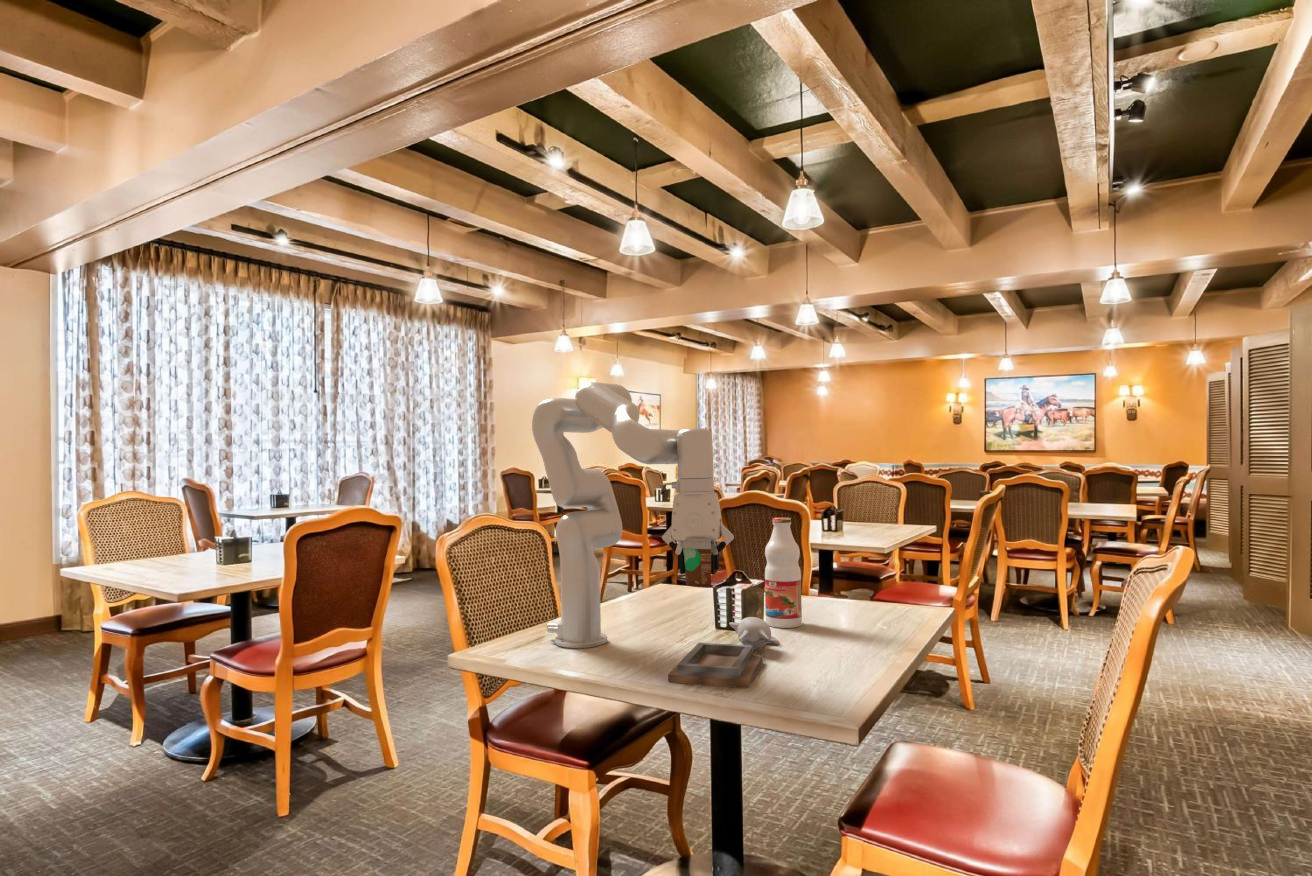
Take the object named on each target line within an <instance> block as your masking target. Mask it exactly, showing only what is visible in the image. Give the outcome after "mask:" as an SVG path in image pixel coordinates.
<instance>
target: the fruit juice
mask: <svg viewBox="0 0 1312 876" xmlns="http://www.w3.org/2000/svg"><path fill="white" fill-rule="evenodd" d="M771 522H772V525H773V528H772V532H771V535H770V538H769V540H768V542H767V544H766V545H765V548H764V556H765V559H766V560H765V561H766V566H765V568H764V596H765V597H764V601H765V603H764V605H765V610H764V611H765V622H766V623H767V624H768V625H769V627H770V628H771V627H772V628H778V629H779V628H780V629H792V628H798V627H800V626H801V625H802V619H803V618H802V617H803V616H802V615H803V614H802V613H803V612H802V607H803V606H802V571H801V567H800V565H799V559H800V557H801V556H800V555H801V553H800V552H801V551H800V547H799V545H798V543H797V542H796V540H795V538H794V536H793V533H792V529H791V525H792V518H791V517H772V520H771Z"/></svg>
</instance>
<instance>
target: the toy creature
mask: <svg viewBox="0 0 1312 876" xmlns="http://www.w3.org/2000/svg"><path fill="white" fill-rule="evenodd" d="M728 624H729V626H730V627H731V628H732V629H734V630H735V633H736V634H737V639H738V641H739V642H741V645H749V646H753V651H755V650H760V649H761V648H763V647H764V646H765V645H767V644H770V645H774V646H778V645H780V644H781V643H780V641H779V640H778V639H777V638H775V637H773V636H772V630H771V626H769V625H768V624H767V623H766V620H764V619H762V618H761V617H760V618H759V617H756V616H755V617H754V616H747V617H744V618H743V619H742V620H740V622H729V623H728Z"/></svg>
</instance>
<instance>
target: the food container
mask: <svg viewBox="0 0 1312 876" xmlns="http://www.w3.org/2000/svg"><path fill="white" fill-rule="evenodd" d="M680 547H683V555H684V566H685V573H684V574H685V575H684V576H685V585H686V586H689V587H693V588H705V589H706V588H709V589H710V588H712V574H711V555H712V551H711V539H697V538H686V539H685V541H683V542H681V544H680Z"/></svg>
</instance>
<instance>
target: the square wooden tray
mask: <svg viewBox="0 0 1312 876" xmlns="http://www.w3.org/2000/svg"><path fill="white" fill-rule="evenodd" d="M762 664H763V655H758V654H754V649H753V646H749V645H743V644H730V643H717V642H716V643H713V642H698V643H697V644H696V645H695V646H693V648H692V649H691V650H690V651H689V652H688V653H687V654H685V656H684V657H683V658H682V659H681V660H680V661H679V662H678V663H677V664H676V665H675V666H674V667H673V668H672V669H671V670H670V671H669V672H668V674H667V683H675V682H677V684H687V685H689V684H690V685H700V686H701V685H702V686H703V685H704V686H716V687H727V688H728V687H729V688H740V689H741V688H742V689H749V688H750V686H751V684H752V682H753V681H754V679H755V677H756V675H757V674H758V671H759V670H760V668H761V666H762Z"/></svg>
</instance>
